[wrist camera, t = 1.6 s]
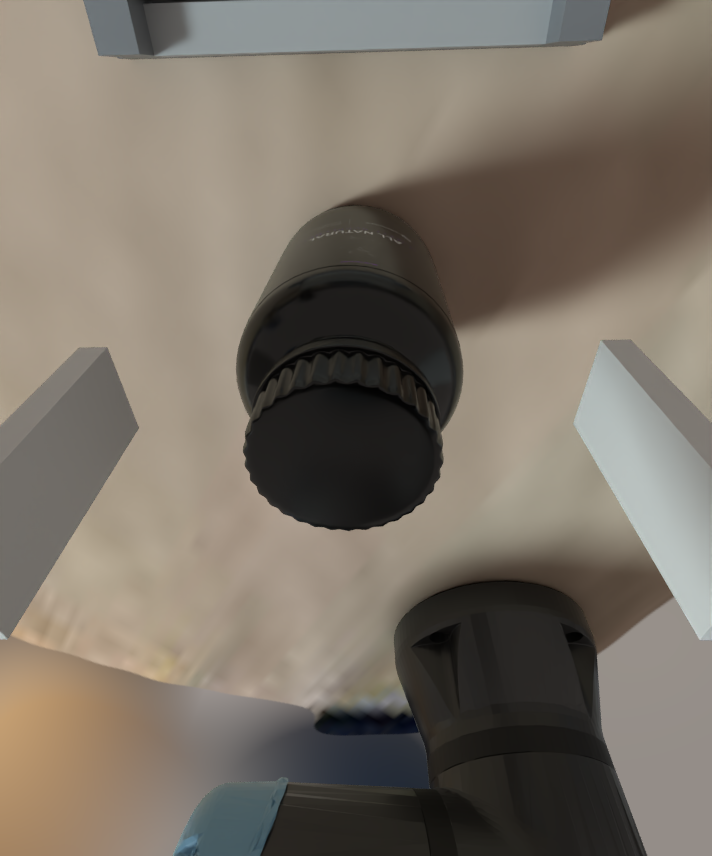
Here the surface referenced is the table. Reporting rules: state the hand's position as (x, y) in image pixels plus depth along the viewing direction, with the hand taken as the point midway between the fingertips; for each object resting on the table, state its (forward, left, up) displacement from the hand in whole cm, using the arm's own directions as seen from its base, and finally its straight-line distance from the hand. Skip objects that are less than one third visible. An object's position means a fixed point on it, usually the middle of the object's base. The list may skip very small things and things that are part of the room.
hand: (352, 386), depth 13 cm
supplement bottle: (0, 0, -9) cm, 9 cm away
